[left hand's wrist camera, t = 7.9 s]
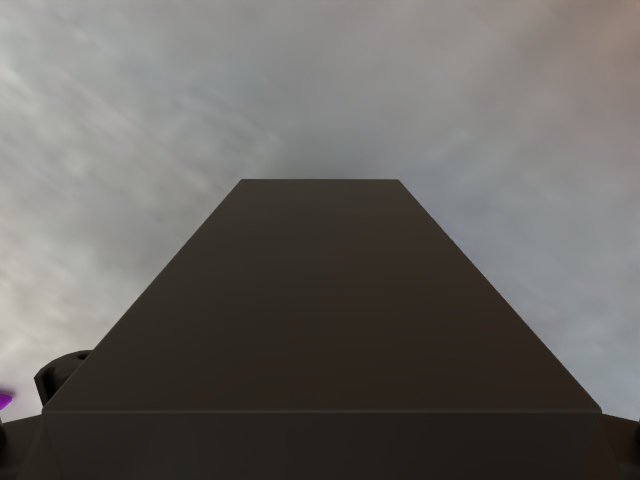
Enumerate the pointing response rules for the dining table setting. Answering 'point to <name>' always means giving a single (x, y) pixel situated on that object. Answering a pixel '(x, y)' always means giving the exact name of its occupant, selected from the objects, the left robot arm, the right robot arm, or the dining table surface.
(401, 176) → the dining table surface
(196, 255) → the box
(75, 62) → the dining table surface
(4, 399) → the musical instrument
